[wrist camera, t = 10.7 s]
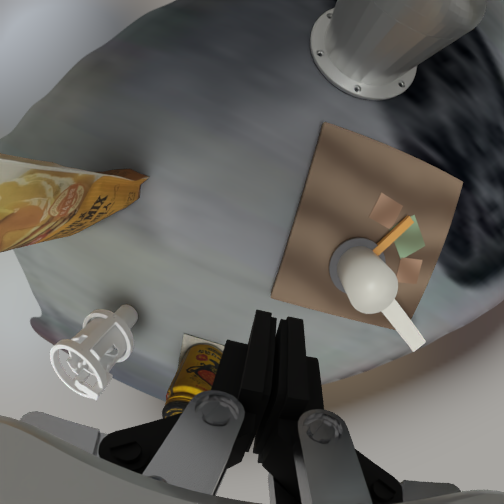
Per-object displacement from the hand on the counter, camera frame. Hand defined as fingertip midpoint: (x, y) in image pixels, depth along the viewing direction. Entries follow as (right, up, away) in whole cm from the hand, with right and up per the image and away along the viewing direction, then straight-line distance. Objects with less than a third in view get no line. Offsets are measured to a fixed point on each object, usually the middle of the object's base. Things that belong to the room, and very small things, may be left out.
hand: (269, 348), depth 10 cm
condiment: (-7, -12, +29) cm, 32 cm away
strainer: (-18, -5, +28) cm, 33 cm away
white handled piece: (+16, 0, +21) cm, 26 cm away
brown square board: (+13, +5, +21) cm, 25 cm away
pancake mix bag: (-20, +11, +23) cm, 33 cm away
